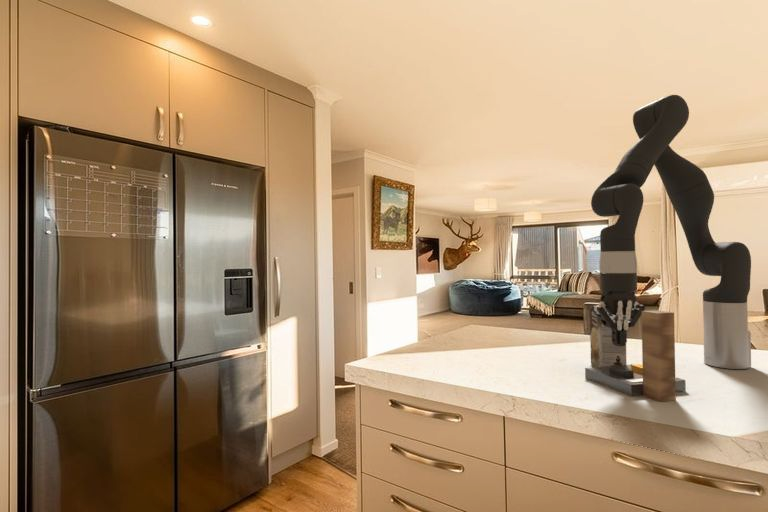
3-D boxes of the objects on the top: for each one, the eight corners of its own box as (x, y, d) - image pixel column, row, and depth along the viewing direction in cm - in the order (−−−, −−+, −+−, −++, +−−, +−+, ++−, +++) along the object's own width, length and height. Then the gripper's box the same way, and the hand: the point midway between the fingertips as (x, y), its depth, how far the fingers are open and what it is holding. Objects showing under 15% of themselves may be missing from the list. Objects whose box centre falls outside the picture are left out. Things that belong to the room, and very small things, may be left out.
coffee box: (589, 364, 112) (588, 306, 112) (614, 365, 111) (613, 306, 111) (600, 373, 103) (599, 310, 103) (628, 374, 102) (627, 310, 102)
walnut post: (658, 394, 87) (657, 310, 87) (675, 400, 83) (674, 312, 84) (643, 395, 86) (641, 310, 87) (659, 401, 83) (657, 313, 83)
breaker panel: (633, 376, 102) (633, 358, 102) (685, 393, 89) (685, 373, 89) (585, 380, 100) (585, 362, 100) (631, 399, 86) (631, 378, 86)
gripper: (629, 270, 99) (630, 341, 99) (581, 271, 97) (583, 344, 96) (655, 271, 92) (657, 347, 92) (605, 272, 89) (606, 350, 89)
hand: (619, 345), depth 94 cm, fingers closed
